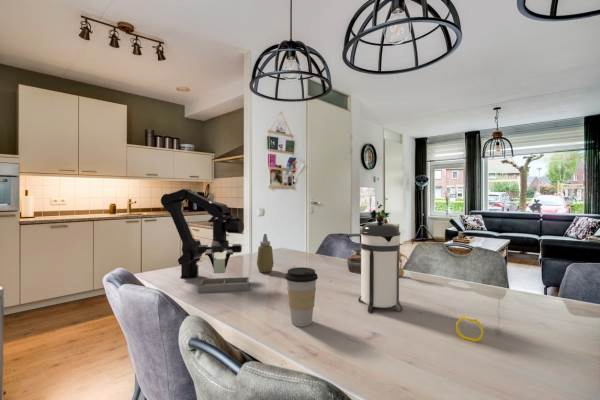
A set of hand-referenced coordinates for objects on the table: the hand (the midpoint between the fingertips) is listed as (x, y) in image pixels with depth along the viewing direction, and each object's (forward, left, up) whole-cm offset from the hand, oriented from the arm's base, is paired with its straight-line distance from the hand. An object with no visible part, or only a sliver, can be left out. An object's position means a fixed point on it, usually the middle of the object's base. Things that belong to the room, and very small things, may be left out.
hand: (219, 268), depth 131 cm
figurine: (+79, -8, -5) cm, 79 cm away
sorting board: (+3, -13, -5) cm, 14 cm away
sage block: (0, 0, -2) cm, 2 cm away
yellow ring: (+70, -65, -5) cm, 96 cm away
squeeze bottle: (+20, +10, -5) cm, 23 cm away
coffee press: (+56, -39, -5) cm, 68 cm away
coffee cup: (+29, -49, -5) cm, 57 cm away
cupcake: (+64, +5, -5) cm, 64 cm away
